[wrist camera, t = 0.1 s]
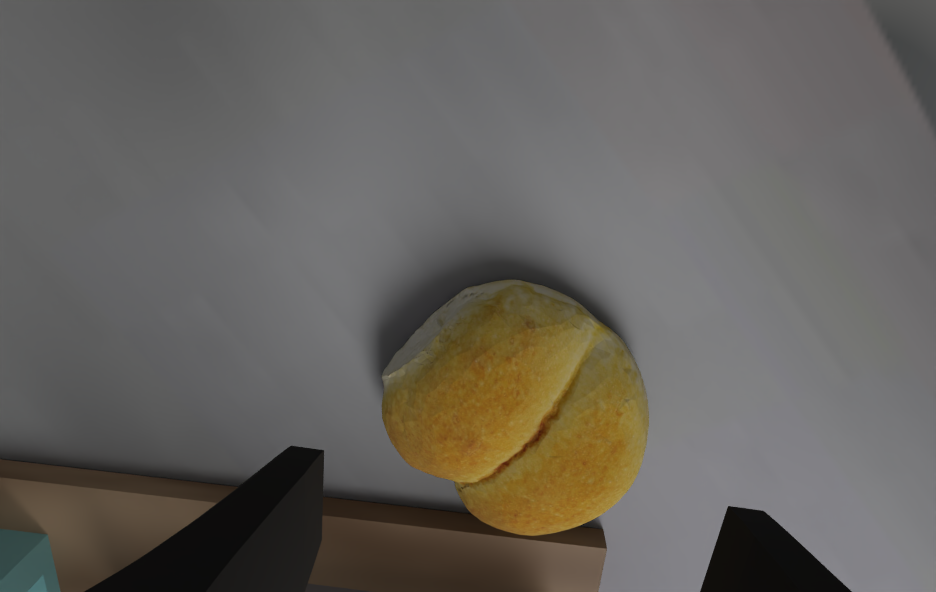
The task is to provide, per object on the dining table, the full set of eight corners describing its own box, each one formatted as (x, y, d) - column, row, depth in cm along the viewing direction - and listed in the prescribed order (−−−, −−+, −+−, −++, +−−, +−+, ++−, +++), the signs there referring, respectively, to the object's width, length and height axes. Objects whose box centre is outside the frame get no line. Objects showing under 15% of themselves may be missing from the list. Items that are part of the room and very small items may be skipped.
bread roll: (527, 528, 23) (528, 614, 20) (356, 383, 22) (322, 447, 18) (696, 403, 21) (734, 475, 17) (517, 227, 19) (516, 265, 15)
